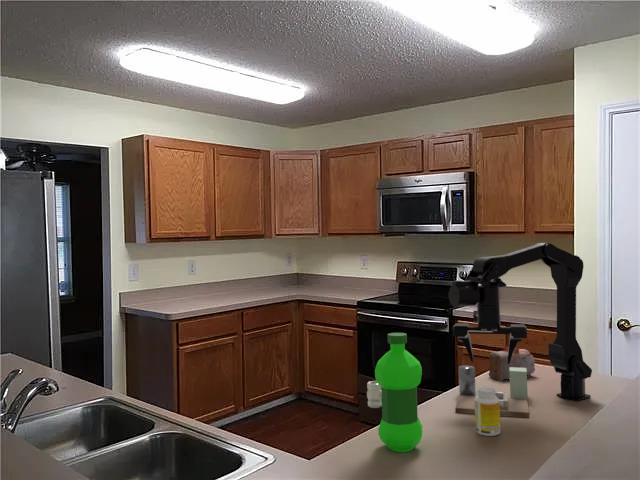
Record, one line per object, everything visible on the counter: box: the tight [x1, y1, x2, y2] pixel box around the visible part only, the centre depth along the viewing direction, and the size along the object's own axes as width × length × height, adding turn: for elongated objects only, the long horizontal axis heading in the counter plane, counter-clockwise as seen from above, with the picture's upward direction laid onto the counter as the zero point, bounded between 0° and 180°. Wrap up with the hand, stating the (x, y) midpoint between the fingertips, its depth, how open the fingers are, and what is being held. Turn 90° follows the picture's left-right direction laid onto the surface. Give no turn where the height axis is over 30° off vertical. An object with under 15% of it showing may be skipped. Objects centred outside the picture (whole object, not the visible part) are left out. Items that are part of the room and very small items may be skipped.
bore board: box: [454, 390, 530, 418], centre depth 146 cm, size 18×12×3 cm, turn 71°
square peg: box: [509, 367, 529, 401], centre depth 154 cm, size 4×4×8 cm
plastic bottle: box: [374, 332, 423, 453], centre depth 120 cm, size 10×10×25 cm
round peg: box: [458, 364, 477, 396], centre depth 158 cm, size 4×4×8 cm
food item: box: [488, 345, 536, 381], centre depth 177 cm, size 14×8×10 cm, turn 112°
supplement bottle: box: [474, 386, 501, 437], centre depth 128 cm, size 6×6×10 cm
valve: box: [366, 380, 382, 409], centre depth 151 cm, size 7×7×12 cm
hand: (490, 362), depth 146 cm, fingers open, 9 cm apart
